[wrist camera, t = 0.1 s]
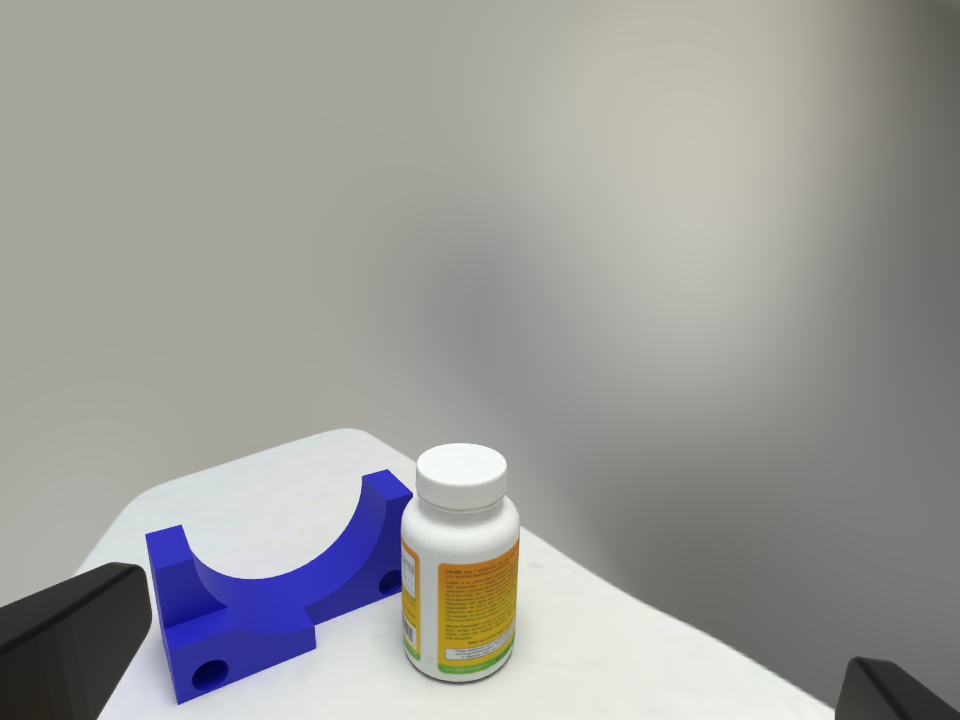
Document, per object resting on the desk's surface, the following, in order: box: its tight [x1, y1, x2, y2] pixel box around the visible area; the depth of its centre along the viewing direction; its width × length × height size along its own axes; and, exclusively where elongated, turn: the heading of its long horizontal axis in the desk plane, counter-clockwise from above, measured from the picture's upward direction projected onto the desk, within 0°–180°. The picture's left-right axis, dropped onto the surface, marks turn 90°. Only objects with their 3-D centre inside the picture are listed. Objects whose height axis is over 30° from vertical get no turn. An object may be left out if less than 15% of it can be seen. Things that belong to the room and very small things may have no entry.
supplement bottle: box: [401, 443, 520, 682], centre depth 28 cm, size 5×5×10 cm
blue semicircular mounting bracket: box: [145, 469, 413, 705], centre depth 30 cm, size 12×4×6 cm, turn 124°
